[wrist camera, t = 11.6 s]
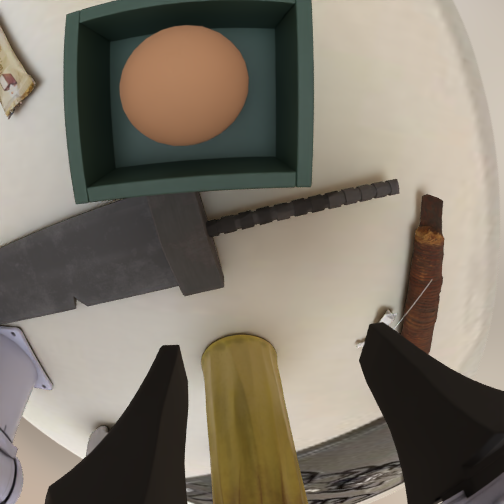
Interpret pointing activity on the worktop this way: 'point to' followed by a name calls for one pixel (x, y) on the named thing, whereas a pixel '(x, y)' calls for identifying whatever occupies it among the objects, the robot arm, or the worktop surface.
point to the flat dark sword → (135, 250)
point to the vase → (249, 425)
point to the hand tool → (425, 276)
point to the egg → (184, 85)
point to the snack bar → (12, 78)
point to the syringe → (387, 320)
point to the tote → (206, 153)
